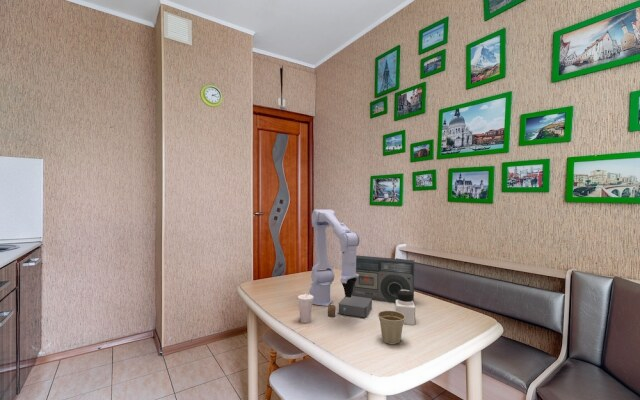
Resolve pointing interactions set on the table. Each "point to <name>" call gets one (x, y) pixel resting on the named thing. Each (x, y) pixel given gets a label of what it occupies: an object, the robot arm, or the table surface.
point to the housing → (358, 303)
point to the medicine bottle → (406, 306)
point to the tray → (352, 310)
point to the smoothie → (305, 306)
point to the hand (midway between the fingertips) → (348, 296)
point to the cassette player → (383, 278)
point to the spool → (331, 310)
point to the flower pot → (391, 326)
